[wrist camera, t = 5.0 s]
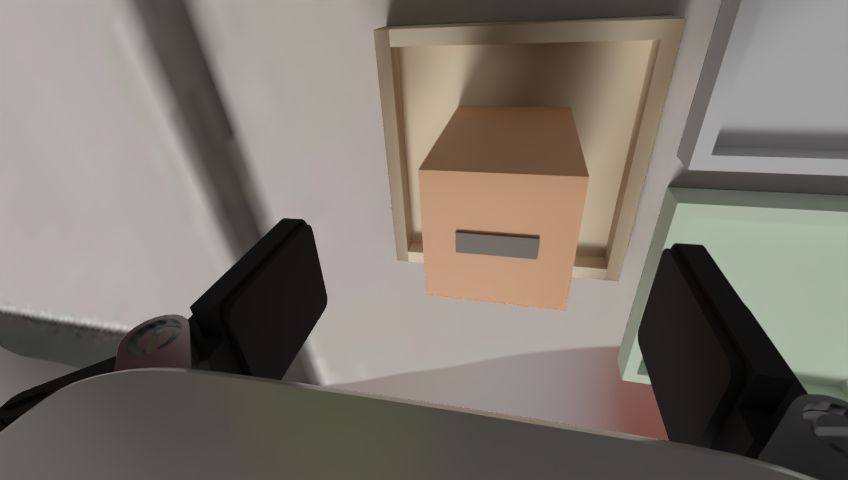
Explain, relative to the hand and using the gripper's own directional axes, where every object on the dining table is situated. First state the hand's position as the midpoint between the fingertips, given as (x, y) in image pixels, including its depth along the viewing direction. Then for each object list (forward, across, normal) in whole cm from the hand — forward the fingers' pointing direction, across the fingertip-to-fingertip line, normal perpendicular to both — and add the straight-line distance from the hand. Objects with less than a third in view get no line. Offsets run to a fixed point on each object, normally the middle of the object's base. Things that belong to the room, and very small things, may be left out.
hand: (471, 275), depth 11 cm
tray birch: (+9, -1, 0) cm, 9 cm away
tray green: (+9, -13, +6) cm, 17 cm away
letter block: (+8, -1, 0) cm, 8 cm away
